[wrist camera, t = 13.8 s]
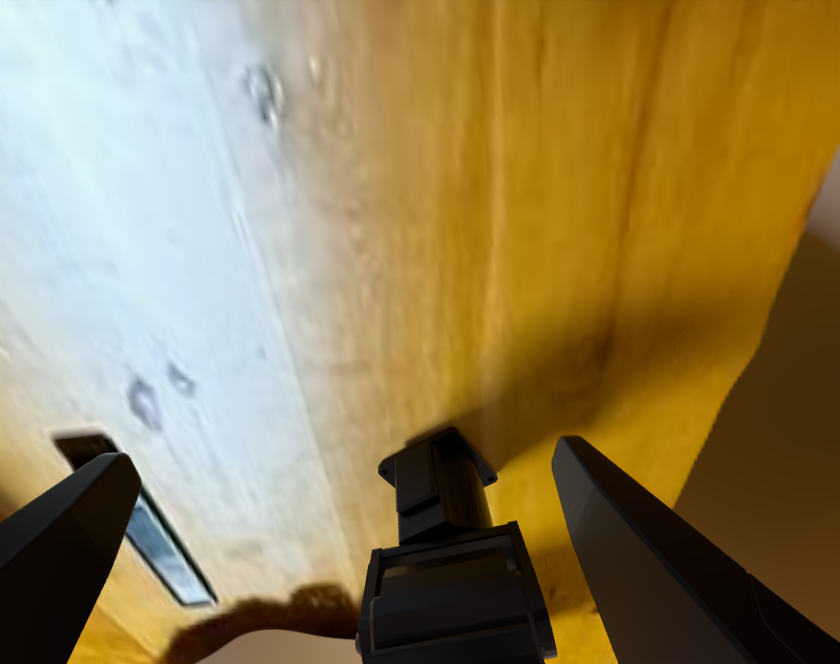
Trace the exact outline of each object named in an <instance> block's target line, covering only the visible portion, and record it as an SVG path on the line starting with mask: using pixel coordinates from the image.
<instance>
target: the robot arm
mask: <svg viewBox="0 0 840 664" xmlns="http://www.w3.org/2000/svg"><path fill="white" fill-rule="evenodd" d="M452 434H454V435H452ZM385 469H386V470H385ZM552 472H553V476H554V480H555V483H556V487H557V491H558V494H559V498H560V502H561V505H562V509H563V513H564V516H565V520H566V524H567V528H568V531H569V534H570V538H571V541H572V544H573V546H574V549H575V552H576V554H577V557H578V560H579V562H580V565H581V567H582V570H583V573H584V575H585V578H586V580H587V583H588V586H589V588H590V591H591V593H592V596H593V599H594V601H595V604H596V606H597V609H598V612H599V614H600V617H601V619H602V622H603V625H604V627H605V630H606V632H607V635H608V638H609V640H610V643H611V645H612V648H613V651H614V653H615V656H616V658H617V661H618V664H840V642H839V641H837V640H836V639H835V638H833V637H832V636H831V635H829V634H828V633H827V632H825V631H824V630H823V629H821V628H820V627H819V626H817V625H816V624H814V623H813V622H812V621H810V620H809V619H808V618H807V617H805V616H804V615H803V614H801V613H800V612H799V611H798V610H796V609H795V608H794V607H793V606H791V605H790V604H789V603H787V602H786V601H785V600H784V599H782V598H781V597H780V596H779V595H777V594H776V593H775V592H773V591H772V590H771V589H770V588H768V587H767V586H766V585H765V584H764V583H762V582H761V581H759V579H757V578H756V577H755V576H754V575H752V574H751V573H747V572H746V570H745V568H743V567H742V566H741V565H740V564H738V563H737V562H736V561H735V560H734V559H732V558H731V557H730V556H728V555H727V554H726V553H724V551H722V550H721V549H720V548H719V547H717V546H716V545H715V544H714V543H712V542H711V541H710V540H709V539H707V538H706V537H705V536H704V535H702V534H701V533H700V532H699V531H698V530H696V529H695V528H694V527H693V526H691V525H690V524H689V523H688V522H686V521H685V520H684V519H683V518H681V517H680V516H679V515H678V514H676V513H675V512H674V511H673V510H672V509H670V508H669V507H668V506H667V505H665V504H664V503H663V502H662V501H660V500H659V499H658V498H657V497H655V496H654V495H653V494H652V493H650V492H649V491H648V490H647V489H645V488H644V487H643V486H642V485H641V484H639V483H638V482H637V481H636V480H634V479H633V478H632V477H631V476H629V475H628V474H627V473H626V472H624V471H623V470H622V469H621V468H619V467H618V466H617V465H616V464H614V463H613V462H612V461H611V460H610V459H608V458H607V457H606V456H605V455H603V454H602V453H601V452H600V451H598V450H597V449H596V448H595V447H593V446H592V445H591V444H590V443H588V442H587V441H586V440H585V439H583V438H582V437H580V436H578V435H565V436H561V437H560V438H559V439H558V442H557V445H556V448H555V452H554V455H553V458H552ZM378 473H379V475H380V476H381V477H383V478H384V479H385V480H386V481H387V482H388V483H390V484H391V485H392V486H393V487H394V488H395V489H396V511H397V513H398V535H399V545H400V546H396V547H391V548H386V549H382V548H378V549H373V550H372V554H371V560H370V564H369V565H368V570H367V576H366V583H365V589H364V595H363V601H362V607H361V613H360V619H359V625H358V633H357V636H356V641H355V645H356V651H357V652H358V653H359V654H360V656H361V657H362V662H363V664H545V662H544V659H549V658H555V657H557V649H556V644H555V640H554V635H553V631H552V627H551V623H550V620H549V616H548V612H547V609H546V605H545V602H544V598H543V595H542V592H541V589H540V586H539V583H538V580H537V577H536V574H535V571H534V568H533V565H532V563H531V560H530V557H529V554H528V551H527V548H526V546H525V543H524V540H523V537H522V534H521V531H520V529H519V526H518V523H517V520H516V521H511V522H508V524H505V525H500V526H495V527H493V523H492V519H491V515H490V511H489V507H488V503H487V499H486V495H485V491H484V487H486V486H488V485H490V484H493V483H495V482H496V481H497V479H498V477H497V474H496V472H495V471H494V469H493V468H492V467H491V466H490V465H489V464H488V463H487V462H486V460H485V459H484V458H483V457H482V456H481V455H480V454H479V453H478V451H477V450H476V449H475V448H474V447H473V446H472V445H471V444H470V442H469V441H468V440H467V439H466V438H465V437H464V436H463V434H462V433H461V432H460V431H459V430H458V429H457V428H454V427H450V428H448V429H446V430H444V431H442V432H440V433H438V434H436V435H434V436H432V437H430V438H429V439H427V440H425V441H423V442H421V443H419V444H417V445H415V446H413V447H411V448H410V449H408V450H406V451H404V452H402V453H400V454H398V455H396V456H394V457H392V458H391V459H389V460H387V461H385V462H383V463H381V464H380V465H379V466H378ZM141 485H142V482H141V477H140V475H139V473H138V471H137V470H136V468H135V466H134V464H133V462H132V460H131V458H130V457H129V455H128V454H126V453H105V454H101V455H99V456H98V457H96V458H95V459H93V460H92V461H90V462H89V463H87V464H86V465H84V466H83V467H81V468H80V469H78V470H77V471H75V472H74V473H72V474H71V475H70V476H68V477H67V478H65V479H64V480H62V481H61V482H59V483H58V484H56V485H55V486H53V487H52V488H50V489H49V490H47V491H46V492H44V493H43V494H42V495H40V496H39V497H37V498H36V499H34V500H33V501H31V502H30V503H28V504H27V505H25V506H24V507H22V508H21V509H19V510H18V511H16V512H15V513H14V514H12V515H11V516H9V517H8V518H6V519H5V520H3V521H2V522H0V664H67V662H68V660H69V658H70V656H71V654H72V652H73V649H74V647H75V645H76V643H77V641H78V639H79V637H80V635H81V633H82V631H83V629H84V626H85V624H86V622H87V620H88V618H89V616H90V614H91V612H92V610H93V608H94V605H95V603H96V601H97V599H98V597H99V595H100V593H101V591H102V589H103V587H104V584H105V582H106V580H107V578H108V576H109V574H110V571H111V569H112V567H113V564H114V562H115V559H116V557H117V554H118V551H119V549H120V546H121V543H122V540H123V538H124V535H125V532H126V529H127V527H128V524H129V521H130V518H131V516H132V513H133V510H134V507H135V505H136V502H137V499H138V496H139V494H140V490H141Z"/></svg>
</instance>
